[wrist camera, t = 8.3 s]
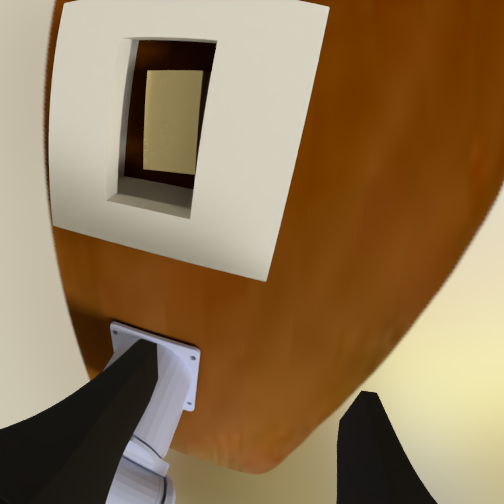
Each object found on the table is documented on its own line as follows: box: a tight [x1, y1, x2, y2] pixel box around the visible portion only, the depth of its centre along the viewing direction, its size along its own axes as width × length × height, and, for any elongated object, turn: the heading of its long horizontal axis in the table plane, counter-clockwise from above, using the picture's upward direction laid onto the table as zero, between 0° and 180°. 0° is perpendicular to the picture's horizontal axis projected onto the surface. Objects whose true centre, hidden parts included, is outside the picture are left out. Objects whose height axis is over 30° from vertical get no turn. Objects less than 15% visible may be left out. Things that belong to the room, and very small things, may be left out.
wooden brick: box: [143, 70, 211, 175], centre depth 14 cm, size 4×2×4 cm, turn 174°
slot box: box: [49, 0, 329, 282], centre depth 14 cm, size 11×11×6 cm
